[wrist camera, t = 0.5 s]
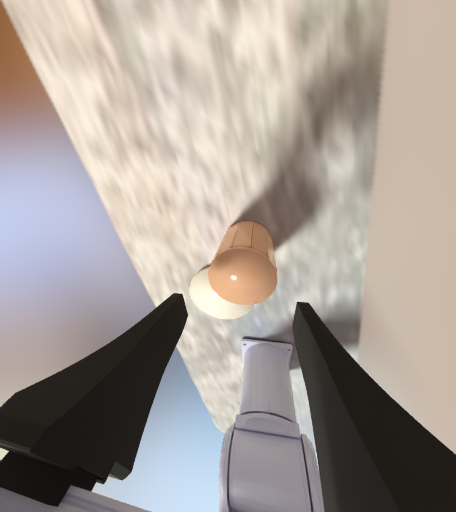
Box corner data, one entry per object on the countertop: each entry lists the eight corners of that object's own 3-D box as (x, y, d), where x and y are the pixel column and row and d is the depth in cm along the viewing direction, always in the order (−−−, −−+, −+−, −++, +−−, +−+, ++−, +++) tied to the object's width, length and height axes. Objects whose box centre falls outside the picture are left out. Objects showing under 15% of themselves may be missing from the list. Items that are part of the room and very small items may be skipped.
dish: (254, 317, 24) (254, 321, 24) (196, 312, 26) (195, 316, 25) (255, 266, 20) (255, 270, 19) (186, 264, 22) (183, 267, 21)
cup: (270, 265, 20) (274, 307, 14) (225, 263, 21) (212, 302, 15) (273, 220, 17) (280, 249, 11) (221, 221, 18) (203, 248, 12)
